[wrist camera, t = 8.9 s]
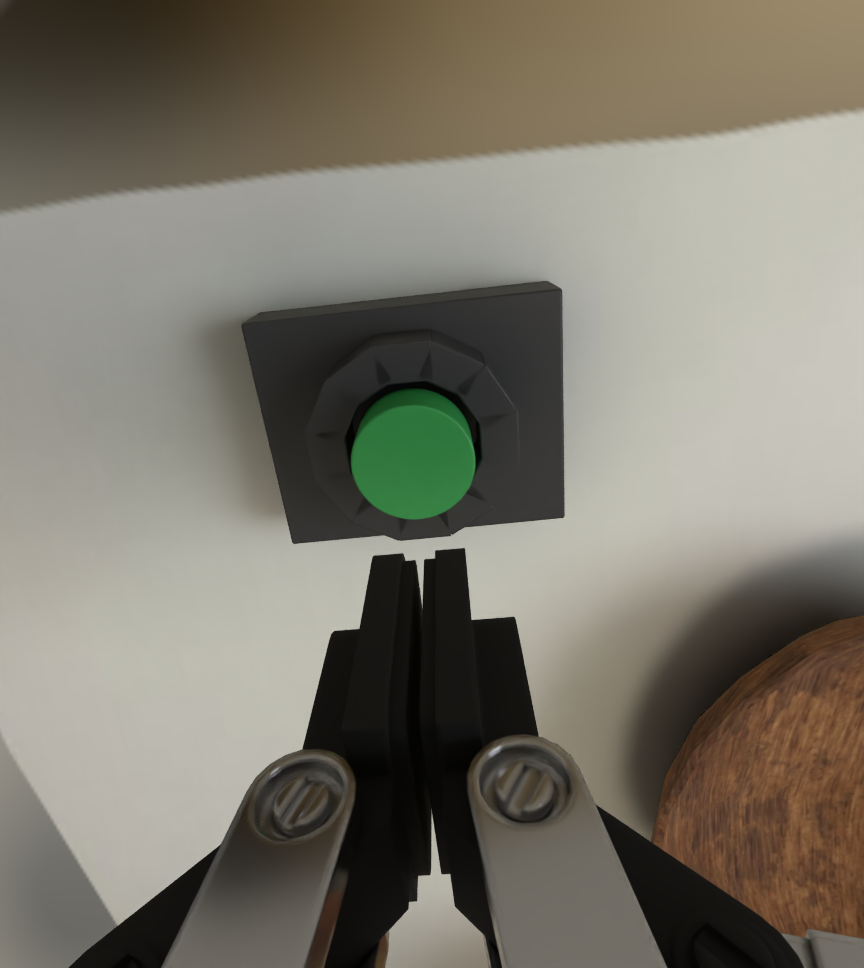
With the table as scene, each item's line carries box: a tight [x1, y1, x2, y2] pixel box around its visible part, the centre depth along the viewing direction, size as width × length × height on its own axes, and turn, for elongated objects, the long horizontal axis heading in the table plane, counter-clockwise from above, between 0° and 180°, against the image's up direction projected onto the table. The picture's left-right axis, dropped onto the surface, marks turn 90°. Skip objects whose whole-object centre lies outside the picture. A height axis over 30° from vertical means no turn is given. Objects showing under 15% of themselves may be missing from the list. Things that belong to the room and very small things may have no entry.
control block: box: [241, 281, 565, 544], centre depth 20 cm, size 10×8×4 cm
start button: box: [351, 388, 475, 519], centre depth 18 cm, size 4×4×2 cm
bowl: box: [651, 615, 864, 939], centre depth 27 cm, size 20×22×5 cm
